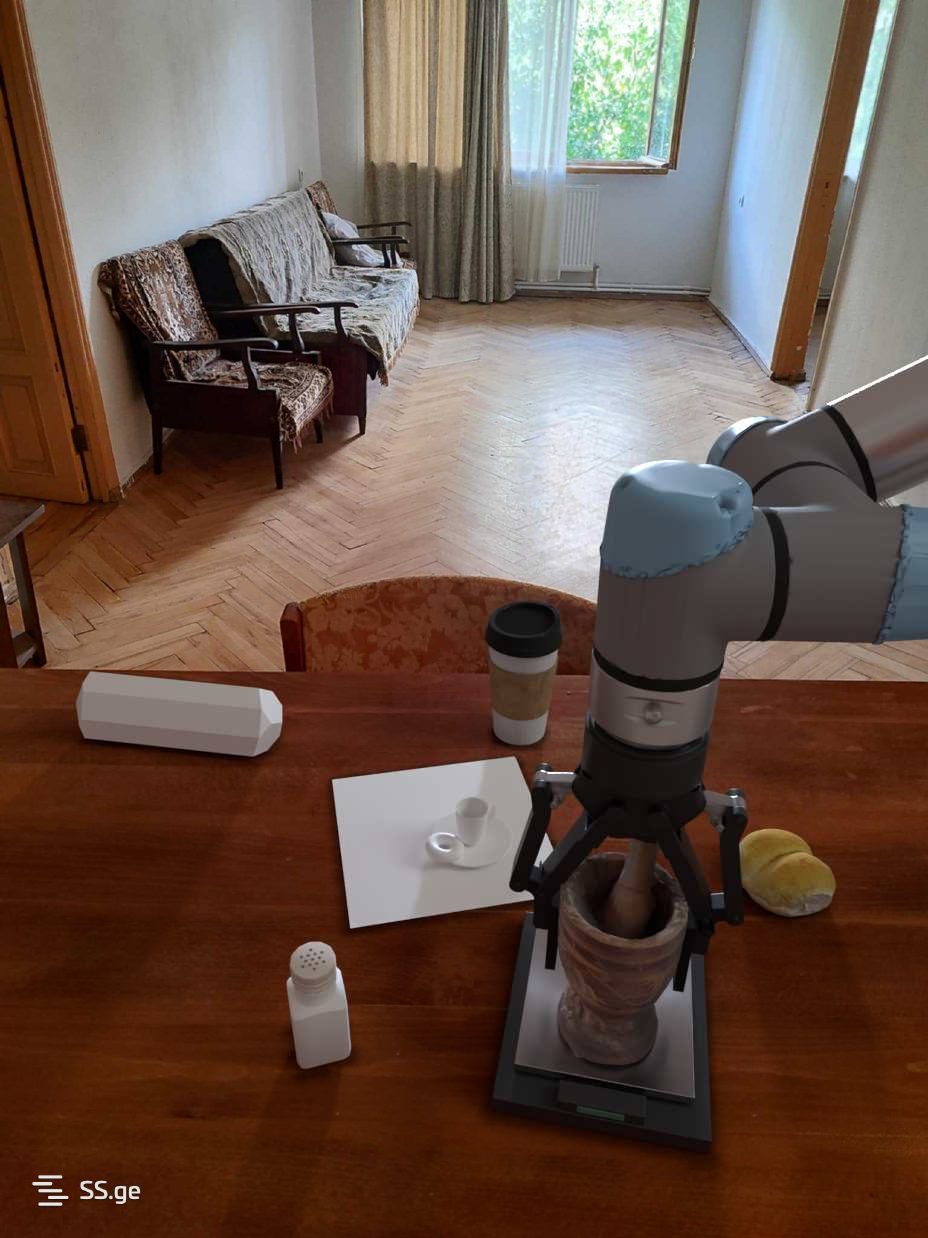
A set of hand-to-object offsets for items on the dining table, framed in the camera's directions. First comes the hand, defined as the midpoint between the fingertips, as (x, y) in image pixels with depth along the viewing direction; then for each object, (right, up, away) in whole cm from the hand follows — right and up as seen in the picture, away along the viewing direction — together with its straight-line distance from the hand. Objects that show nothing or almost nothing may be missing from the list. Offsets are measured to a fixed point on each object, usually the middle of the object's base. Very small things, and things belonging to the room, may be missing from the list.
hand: (614, 965), depth 65 cm
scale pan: (0, -4, +3) cm, 5 cm away
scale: (0, -6, +3) cm, 7 cm away
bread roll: (+18, +1, +16) cm, 24 cm away
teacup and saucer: (-13, +4, +22) cm, 26 cm away
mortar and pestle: (0, -4, +2) cm, 5 cm away
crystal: (-43, +13, +35) cm, 57 cm away
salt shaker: (-22, -7, +2) cm, 23 cm away
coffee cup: (-5, +13, +36) cm, 39 cm away
